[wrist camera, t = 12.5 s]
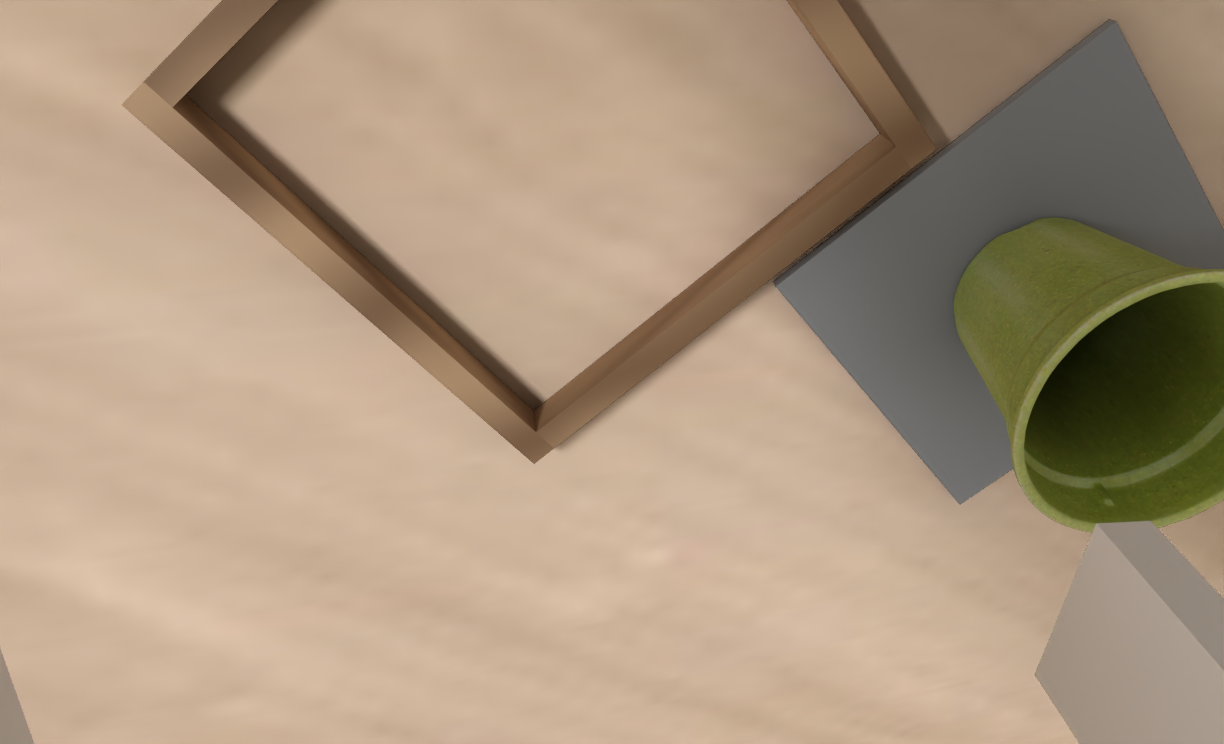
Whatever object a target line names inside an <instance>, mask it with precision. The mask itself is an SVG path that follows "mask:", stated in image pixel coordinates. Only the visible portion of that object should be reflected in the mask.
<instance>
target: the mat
mask: <svg viewBox="0 0 1224 744" xmlns="http://www.w3.org/2000/svg"><path fill="white" fill-rule="evenodd" d="M1054 217H1056V218H1065V219H1070V220H1074V221H1077V222H1080V223H1082V224H1084V225H1087V226H1089V227H1091V228H1094V229H1096V230H1099V231H1101V232H1103V233H1105V234H1108V235H1110V236H1112V237H1115V238H1117V239H1119V240H1122V241H1124V242H1126V243H1129V244H1131V245H1134V246H1136V247H1139V248H1141V249H1143V250H1146V251H1148V252H1151V253H1153V254H1155V255H1158V256H1160V257H1162V258H1165V259H1167V260H1169V261H1172V262H1174V263H1176V264H1179V265H1181V266H1184V267H1194V268H1201V269H1224V230H1223V228H1222V226H1221V224H1220V222H1219V220H1218V218H1217V216H1216V214H1215V212H1214V210H1213V208H1212V207H1211V205H1210V203H1209V201H1208V199H1207V197H1206V195H1205V193H1204V191H1203V189H1202V187H1201V185H1200V183H1199V181H1198V179H1197V177H1196V175H1195V174H1194V172H1193V170H1192V168H1191V166H1190V164H1189V162H1188V160H1187V158H1186V156H1185V154H1184V152H1183V150H1182V148H1181V146H1180V144H1179V142H1178V141H1177V139H1176V137H1175V135H1174V133H1173V131H1172V129H1171V127H1170V125H1169V123H1168V121H1167V119H1166V117H1165V115H1164V113H1163V111H1162V109H1161V108H1160V106H1159V104H1158V102H1157V100H1156V98H1155V96H1154V94H1153V92H1152V90H1151V88H1150V86H1149V84H1148V82H1147V80H1146V78H1145V76H1144V75H1143V73H1142V71H1141V69H1140V67H1139V65H1138V63H1137V61H1136V59H1135V57H1134V55H1133V53H1132V51H1131V49H1130V47H1129V45H1128V43H1127V42H1126V40H1125V38H1124V36H1123V34H1122V32H1121V30H1120V28H1119V26H1118V24H1117V22H1116V21H1113V20H1110V19H1109V20H1108V21H1107V22H1105V23H1104V24H1103V25H1101V26H1100V27H1099V28H1098V29H1096V30H1095V31H1094V32H1092V33H1091V34H1090V35H1089V36H1087V37H1086V38H1085V39H1084V40H1082V41H1081V42H1080V43H1078V44H1077V45H1076V46H1075V47H1073V48H1072V49H1071V50H1069V51H1068V52H1067V53H1066V54H1064V55H1063V56H1062V57H1060V58H1059V59H1058V60H1057V61H1055V62H1054V63H1053V64H1052V65H1050V66H1049V67H1048V68H1046V69H1045V70H1044V71H1043V72H1041V73H1040V74H1039V75H1037V76H1036V77H1035V78H1034V79H1032V80H1031V81H1030V82H1028V83H1027V84H1026V85H1025V86H1023V87H1022V88H1021V89H1019V90H1018V91H1017V92H1016V93H1014V94H1013V95H1012V96H1011V97H1009V98H1008V99H1007V100H1005V101H1004V102H1003V103H1002V104H1000V105H999V106H998V107H996V108H995V109H994V110H993V111H991V112H990V113H989V114H987V115H986V116H985V117H984V118H982V119H981V120H980V121H979V122H977V123H976V124H975V125H973V126H972V127H971V128H970V129H968V130H967V131H966V132H964V133H963V134H962V135H961V136H959V137H958V138H957V139H955V140H954V141H953V142H952V143H950V144H949V145H948V146H947V147H945V148H944V149H943V150H941V151H940V152H939V153H938V154H936V155H935V156H934V157H932V158H931V159H930V160H929V161H927V162H926V163H925V164H923V165H922V166H921V167H920V168H918V169H917V170H916V171H915V172H913V173H912V174H911V175H909V176H908V177H907V178H906V179H904V180H903V181H902V182H900V183H899V184H898V185H897V186H895V187H894V188H893V189H891V190H890V191H889V192H888V193H886V194H885V195H884V196H883V197H881V198H880V199H879V200H877V201H876V202H875V203H874V204H872V205H871V206H870V207H868V208H867V209H866V210H865V211H863V212H862V213H861V214H859V215H858V216H857V217H856V218H854V219H853V220H852V221H850V222H849V223H848V224H847V225H845V226H844V227H843V228H842V229H840V230H839V231H838V232H836V233H835V234H834V235H833V236H831V237H830V238H829V239H827V240H826V241H825V242H824V243H822V244H821V245H820V246H818V247H817V248H816V249H815V250H813V251H812V252H811V253H810V254H808V255H807V256H806V257H804V258H803V259H802V260H801V261H799V262H798V263H797V264H795V265H794V266H793V267H792V268H790V269H789V270H788V271H786V272H785V273H784V274H783V275H781V276H780V277H779V278H778V279H776V280H775V281H774V282H773V283H774V284H775V286H776V287H777V288H778V290H779V291H780V292H781V293H782V294H783V296H784V297H785V298H786V299H787V300H788V302H789V303H790V304H791V305H792V306H793V307H794V309H795V310H796V311H797V312H798V313H799V315H800V316H801V317H802V318H803V319H804V320H805V322H806V323H807V324H808V325H809V326H810V328H811V329H812V330H813V331H814V332H815V334H816V335H817V336H818V337H819V338H820V339H821V341H822V342H823V343H824V344H825V345H826V347H827V348H828V349H829V350H830V351H831V353H832V354H833V355H834V356H835V357H836V358H837V360H838V361H839V362H840V363H841V364H842V366H843V367H844V368H845V369H846V370H847V372H848V373H849V374H850V375H851V376H852V377H853V379H854V380H855V381H856V382H857V383H858V385H859V386H860V387H861V388H862V389H863V390H864V392H865V393H866V394H867V395H868V396H869V398H870V399H871V400H872V401H873V402H874V404H875V405H876V406H877V407H878V408H879V409H880V411H881V412H882V413H883V414H884V415H885V417H886V418H887V419H888V420H889V421H890V423H891V424H892V425H893V426H894V427H895V428H896V430H897V431H898V432H899V433H900V434H901V436H902V437H903V438H904V439H905V440H906V442H907V443H908V444H909V445H910V446H911V447H912V449H913V450H914V451H915V452H916V453H917V455H918V456H919V457H920V458H921V459H922V460H923V462H924V463H925V464H926V465H927V466H928V468H929V469H930V470H931V471H932V472H933V474H934V475H935V476H936V477H937V478H938V479H939V481H940V482H941V483H942V484H943V485H944V487H945V488H946V489H947V490H948V491H949V493H950V494H951V495H952V496H953V497H954V498H955V500H956V501H957V502H958V503H959V504H962V503H963V502H965V501H966V500H968V499H969V498H971V497H972V496H974V495H975V494H976V493H978V492H979V491H981V490H982V489H984V488H985V487H987V486H988V485H990V484H991V483H993V482H994V481H996V480H997V479H999V478H1000V477H1002V476H1003V475H1005V474H1006V473H1008V472H1009V471H1010V470H1012V469H1013V464H1012V459H1011V442H1010V439H1009V436H1008V432H1007V426H1006V420H1005V418H1004V416H1003V414H1002V413H1001V411H1000V409H999V407H998V405H997V404H996V402H995V400H994V398H993V396H992V395H991V393H990V391H989V389H988V387H987V386H986V384H985V382H984V380H983V378H982V377H981V375H980V373H979V371H978V370H977V368H976V366H975V364H974V363H973V361H972V359H971V358H970V356H969V354H968V352H967V350H966V348H965V347H964V345H963V343H962V341H961V340H960V337H959V335H958V331H957V327H956V323H955V316H954V298H955V293H956V290H957V287H958V285H959V282H960V280H961V277H962V276H963V274H964V272H965V270H966V268H967V266H968V265H969V264H970V262H971V261H972V260H973V259H974V257H975V256H976V255H977V254H978V253H979V252H980V251H981V250H982V249H983V248H984V247H985V246H986V245H987V244H988V243H989V242H991V241H992V240H993V239H995V238H996V237H998V236H999V235H1002V234H1005V233H1008V232H1011V231H1013V230H1016V229H1019V228H1021V227H1023V226H1025V225H1028V224H1030V223H1032V222H1034V221H1035V220H1037V219H1042V218H1054Z"/></svg>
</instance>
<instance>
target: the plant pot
mask: <svg viewBox="0 0 1224 744" xmlns="http://www.w3.org/2000/svg"><path fill="white" fill-rule="evenodd" d="M954 316H955V323H956V327H957V331H958V335H959V337H960V340H961V341H962V343H963V345H964V347H965V348H966V350H967V352H968V354H969V356H970V358H971V359H972V361H973V363H974V364H975V366H976V368H977V370H978V371H979V373H980V375H981V377H982V378H983V380H984V382H985V384H986V386H987V387H988V389H989V391H990V393H991V395H992V396H993V398H994V400H995V402H996V404H997V405H998V407H999V409H1000V411H1001V413H1002V414H1003V416H1004V418H1005V420H1006V426H1007V432H1008V436H1009V439H1010V442H1011V459H1012V464H1013V468H1014V472H1015V475H1016V477H1017V480H1018V482H1019V484H1020V486H1021V488H1022V490H1023V491H1024V493H1025V495H1026V496H1027V498H1028V499H1029V500H1030V501H1031V502H1032V504H1033V505H1034V506H1035V507H1036V508H1037V509H1038V510H1040V511H1041V512H1042V513H1043V514H1044V515H1046V516H1047V517H1049V518H1050V519H1052V520H1054V521H1056V522H1058V523H1060V524H1062V525H1065V526H1068V527H1071V528H1074V529H1077V530H1081V531H1086V532H1091V533H1093V530H1094V528H1095V525H1096V523H1117V522H1138V521H1151V522H1152V523H1153V524H1154V525H1155V526H1156V527H1157V528H1160V527H1164V526H1167V525H1169V524H1172V523H1176V522H1179V521H1182V520H1185V519H1188V518H1191V517H1192V516H1194V515H1196V514H1199V513H1201V512H1203V511H1205V510H1207V509H1209V508H1210V507H1212V506H1214V505H1216V504H1218V503H1219V502H1221V501H1222V500H1224V269H1201V268H1194V267H1184V266H1181V265H1179V264H1176V263H1174V262H1172V261H1169V260H1167V259H1165V258H1162V257H1160V256H1158V255H1155V254H1153V253H1151V252H1148V251H1146V250H1143V249H1141V248H1139V247H1136V246H1134V245H1131V244H1129V243H1126V242H1124V241H1122V240H1119V239H1117V238H1115V237H1112V236H1110V235H1108V234H1105V233H1103V232H1101V231H1099V230H1096V229H1094V228H1091V227H1089V226H1087V225H1084V224H1082V223H1080V222H1077V221H1074V220H1070V219H1065V218H1056V217H1054V218H1042V219H1037V220H1035V221H1034V222H1032V223H1030V224H1028V225H1025V226H1023V227H1021V228H1019V229H1016V230H1013V231H1011V232H1008V233H1005V234H1002V235H999V236H998V237H996V238H995V239H993V240H992V241H991V242H989V243H988V244H987V245H986V246H985V247H984V248H983V249H982V250H981V251H980V252H979V253H978V254H977V255H976V256H975V257H974V259H973V260H972V261H971V262H970V264H969V265H968V266H967V268H966V270H965V272H964V274H963V276H962V277H961V280H960V282H959V285H958V287H957V290H956V293H955V298H954Z"/></svg>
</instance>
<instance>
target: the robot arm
mask: <svg viewBox="0 0 1224 744" xmlns="http://www.w3.org/2000/svg"><path fill="white" fill-rule="evenodd" d="M1035 676H1036V678H1037V679H1038V681H1039V682H1040V684H1041V685H1042V687H1043V688H1044V690H1045V691H1046V693H1047V694H1048V696H1049V698H1050V699H1051V701H1052V702H1053V704H1054V705H1055V707H1056V708H1057V710H1058V711H1059V713H1060V714H1061V716H1062V717H1063V719H1064V721H1065V722H1066V724H1067V725H1068V727H1069V728H1070V730H1071V731H1072V733H1073V734H1074V736H1075V737H1076V739H1077V740H1078V742H1079V744H1224V598H1223V597H1222V596H1221V595H1220V594H1219V593H1218V592H1217V591H1216V590H1215V589H1214V588H1213V587H1212V586H1211V585H1210V584H1209V583H1208V581H1207V580H1206V579H1205V578H1204V577H1203V576H1202V575H1201V574H1200V573H1199V572H1198V571H1197V570H1196V569H1195V568H1194V567H1193V566H1192V564H1191V563H1190V562H1189V561H1188V560H1187V559H1186V558H1185V557H1184V556H1183V555H1182V554H1181V553H1180V552H1179V551H1178V550H1177V549H1176V547H1175V546H1174V545H1173V544H1172V543H1171V542H1170V541H1169V540H1168V539H1167V538H1166V537H1165V536H1164V535H1163V534H1162V533H1161V531H1160V530H1159V529H1158V528H1157V527H1156V526H1155V525H1154V524H1153V523H1152V522H1151V521H1138V522H1117V523H1096V525H1095V528H1094V530H1093V533H1092V535H1091V538H1090V540H1089V543H1088V545H1087V547H1086V550H1085V552H1084V555H1083V557H1082V560H1081V562H1080V565H1079V567H1078V570H1077V572H1076V574H1075V577H1074V579H1073V582H1072V584H1071V587H1070V589H1069V592H1068V594H1067V596H1066V599H1065V601H1064V604H1063V606H1062V609H1061V611H1060V614H1059V616H1058V619H1057V621H1056V623H1055V626H1054V628H1053V631H1052V633H1051V636H1050V638H1049V641H1048V643H1047V645H1046V648H1045V650H1044V653H1043V655H1042V658H1041V660H1040V663H1039V665H1038V667H1037V670H1036V672H1035ZM0 744H34V742H33V739H32V736H31V733H30V730H29V728H28V725H27V722H26V719H25V716H24V714H23V711H22V708H21V705H20V702H19V700H18V697H17V694H16V691H15V688H14V686H13V683H12V680H11V677H10V674H9V672H8V669H7V666H6V663H5V660H4V658H3V655H2V652H1V649H0Z"/></svg>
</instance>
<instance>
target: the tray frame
mask: <svg viewBox="0 0 1224 744" xmlns="http://www.w3.org/2000/svg"><path fill="white" fill-rule="evenodd" d="M277 1H278V0H222V1H221V2H220V3H219V4H218V5H217V6H216V7H215V8H214V9H213V10H212V11H211V12H210V13H209V15H208V16H207V17H206V18H205V19H204V20H203V21H202V22H201V23H200V24H199V25H198V26H197V27H196V28H195V29H194V30H193V31H192V32H191V33H190V34H189V35H188V36H187V37H186V38H185V39H184V40H183V41H182V43H181V44H180V45H179V46H178V47H177V48H176V49H175V50H174V51H173V52H172V53H171V54H170V55H169V56H168V57H167V58H166V59H165V60H164V61H163V62H162V63H161V64H160V65H159V66H158V67H157V68H156V69H155V71H154V72H153V73H152V74H151V75H150V76H149V77H148V78H147V79H146V80H145V81H144V82H143V83H142V84H141V85H140V86H139V87H138V88H137V89H136V90H135V91H134V92H133V93H132V94H131V95H130V96H129V97H128V99H127V100H126V101H125V102H124V103H123V104H122V106H123V107H125V108H126V109H127V110H128V111H129V112H130V113H131V114H133V115H134V116H135V117H136V118H137V119H138V120H139V121H141V122H142V123H143V124H144V125H145V126H146V127H148V128H149V129H150V130H151V131H152V132H153V133H154V134H156V135H157V136H158V137H159V138H160V139H161V140H162V141H164V142H165V143H166V144H167V145H168V146H169V147H171V148H172V149H173V150H174V151H175V152H176V153H177V154H179V155H180V156H181V157H182V158H183V159H184V160H185V161H187V162H188V163H189V164H190V165H191V166H192V167H193V168H195V169H196V170H197V171H198V172H199V173H200V174H202V175H203V176H204V177H205V178H206V179H207V180H208V181H210V182H211V183H212V184H213V185H214V186H215V187H216V188H218V189H219V190H220V191H221V192H222V193H223V194H225V195H226V196H227V197H228V198H229V199H230V200H231V201H233V202H234V203H235V204H236V205H237V206H238V207H239V208H241V209H242V210H243V211H244V212H245V213H246V214H248V215H249V216H250V217H251V218H252V219H253V220H254V221H256V222H257V223H258V224H259V225H260V226H261V227H262V228H264V229H265V230H266V231H267V232H268V233H269V234H270V235H272V236H273V237H274V238H275V239H276V240H277V241H279V242H280V243H281V244H282V245H283V246H284V247H285V248H287V249H288V250H289V251H290V252H291V253H292V254H293V255H295V256H296V257H297V258H298V259H299V260H300V261H302V262H303V263H304V264H305V265H306V266H307V267H308V268H310V269H311V270H312V271H313V272H314V273H315V274H316V275H318V276H319V277H320V278H321V279H322V280H323V281H324V282H326V283H327V284H328V285H329V286H330V287H331V288H333V289H334V290H335V291H336V292H337V293H338V294H339V295H341V296H342V297H343V298H344V299H345V300H346V301H347V302H349V303H350V304H351V305H352V306H353V307H354V308H356V309H357V310H358V311H359V312H360V313H361V314H362V315H364V316H365V317H366V318H367V319H368V320H369V321H370V322H372V323H373V324H374V325H375V326H376V327H377V328H378V329H380V330H381V331H382V332H383V333H384V334H385V335H387V336H388V337H389V338H390V339H391V340H392V341H393V342H395V343H396V344H397V345H398V346H399V347H400V348H401V349H403V350H404V351H405V352H406V353H407V354H408V355H410V356H411V357H412V358H413V359H414V360H415V361H416V362H418V363H419V364H420V365H421V366H422V367H423V368H424V369H426V370H427V371H428V372H429V373H430V374H431V375H432V376H434V377H435V378H436V379H437V380H438V381H439V382H441V383H442V384H443V385H444V386H445V387H446V388H447V389H449V390H450V391H451V392H452V393H453V394H454V395H455V396H457V397H458V398H459V399H460V400H461V401H462V402H464V403H465V404H466V405H467V406H468V407H469V408H470V409H472V410H473V411H474V412H475V413H476V414H477V415H478V416H480V417H481V418H482V419H483V420H484V421H485V422H487V423H488V424H489V425H490V426H491V427H492V428H493V429H495V430H496V431H497V432H498V433H499V434H500V435H501V436H503V437H504V438H505V439H506V440H507V441H508V442H509V443H511V444H512V445H513V446H514V447H515V448H516V449H518V450H519V451H520V452H521V453H522V454H523V455H524V456H526V457H527V458H528V459H529V460H530V461H531V462H532V463H534V464H535V463H536V462H537V461H538V460H540V459H541V458H542V457H544V456H545V455H546V454H547V453H549V452H550V451H551V450H553V449H554V448H555V447H556V446H558V445H559V444H560V443H561V442H563V441H564V440H565V439H567V438H568V437H569V436H570V435H572V434H573V433H574V432H576V431H577V430H578V429H579V428H581V427H582V426H583V425H584V424H586V423H587V422H588V421H590V420H591V419H592V418H593V417H595V416H596V415H597V414H599V413H600V412H601V411H602V410H604V409H605V408H606V407H607V406H609V405H610V404H611V403H613V402H614V401H615V400H616V399H618V398H619V397H620V396H622V395H623V394H624V393H625V392H627V391H628V390H629V389H630V388H632V387H633V386H634V385H636V384H637V383H638V382H639V381H641V380H642V379H643V378H645V377H646V376H647V375H648V374H650V373H651V372H652V371H653V370H655V369H656V368H657V367H659V366H660V365H661V364H662V363H664V362H665V361H666V360H668V359H669V358H670V357H671V356H673V355H674V354H675V353H676V352H678V351H679V350H680V349H682V348H683V347H684V346H685V345H687V344H688V343H689V342H691V341H692V340H693V339H694V338H696V337H697V336H698V335H699V334H701V333H702V332H703V331H705V330H706V329H707V328H708V327H710V326H711V325H712V324H714V323H715V322H716V321H717V320H719V319H720V318H721V317H722V316H724V315H725V314H726V313H728V312H729V311H730V310H731V309H733V308H734V307H735V306H737V305H738V304H739V303H740V302H742V301H743V300H744V299H745V298H747V297H748V296H749V295H751V294H752V293H753V292H754V291H756V290H757V289H758V288H760V287H761V286H762V285H763V284H765V283H766V282H767V281H768V280H770V279H771V278H772V277H774V276H775V275H776V274H777V273H779V272H780V271H781V270H783V269H784V268H785V267H786V266H788V265H789V264H790V263H791V262H793V261H794V260H795V259H797V258H798V257H799V256H800V255H802V254H803V253H804V252H806V251H807V250H808V249H809V248H811V247H812V246H813V245H814V244H816V243H817V242H818V241H820V240H821V239H822V238H823V237H825V236H826V235H827V234H829V233H830V232H831V231H832V230H834V229H835V228H836V227H837V226H839V225H840V224H841V223H843V222H844V221H845V220H846V219H848V218H849V217H850V216H852V215H853V214H854V213H855V212H857V211H858V210H859V209H860V208H862V207H863V206H864V205H866V204H867V203H868V202H869V201H871V200H872V199H873V198H875V197H876V196H877V195H878V194H880V193H881V192H882V191H883V190H885V189H886V188H887V187H889V186H890V185H891V184H892V183H894V182H895V181H896V180H898V179H899V178H900V177H901V176H903V175H904V174H905V173H906V172H908V171H909V170H910V169H912V168H913V167H914V166H915V165H917V164H918V163H919V162H921V161H922V160H923V159H924V158H926V157H927V156H928V155H929V154H931V153H932V152H933V151H935V150H936V147H935V146H934V144H933V143H932V141H931V140H930V138H929V137H928V135H927V134H926V132H925V131H924V129H923V128H922V126H921V125H920V123H919V122H918V120H917V119H916V117H915V116H914V114H913V113H912V111H911V110H910V108H909V107H908V105H907V104H906V102H905V101H904V99H903V98H902V96H901V95H900V93H899V92H898V90H897V89H896V87H895V86H894V84H893V83H892V81H891V80H890V78H889V77H888V75H887V74H886V72H885V71H884V69H883V68H882V66H881V65H880V63H879V62H878V60H877V59H876V57H875V56H874V54H873V53H872V52H871V50H870V49H869V47H868V46H867V44H866V43H865V41H864V40H863V38H862V37H861V35H860V34H859V32H858V31H857V29H856V28H855V26H854V25H853V23H852V22H851V20H850V19H849V17H848V16H847V14H846V13H845V11H844V10H843V8H842V7H841V5H840V4H839V2H838V1H837V0H787V1H788V2H789V4H790V5H791V7H792V8H793V10H794V11H795V13H796V14H797V15H798V17H799V18H800V20H801V21H802V23H803V24H804V25H805V27H806V28H807V30H808V31H809V33H810V34H811V35H812V37H813V38H814V40H815V41H816V43H817V44H818V45H819V47H820V48H821V50H822V51H823V53H824V54H825V55H826V57H827V58H828V60H829V61H830V63H831V64H832V66H833V67H834V68H835V70H836V71H837V73H838V74H839V76H840V77H841V78H842V80H843V81H844V83H845V84H846V86H847V87H848V88H849V90H850V91H851V93H852V94H853V96H854V97H855V98H856V100H857V101H858V103H859V104H860V106H861V107H862V108H863V110H864V111H865V113H866V114H867V116H868V117H869V119H870V120H871V121H872V123H873V124H874V126H875V127H876V129H877V130H878V131H879V133H880V134H879V135H878V136H877V137H876V138H874V139H873V140H872V141H871V142H869V143H868V144H867V145H866V146H864V147H863V148H862V149H861V150H859V151H858V152H857V153H856V154H854V155H853V156H852V157H851V158H849V159H848V160H847V161H846V162H844V163H843V164H842V165H841V166H839V167H838V168H837V169H836V170H834V171H833V172H832V173H831V174H829V175H828V176H827V177H826V178H824V179H823V180H822V181H821V182H819V183H818V184H817V185H816V186H814V187H813V188H812V189H811V190H809V191H808V192H807V193H806V194H804V195H803V196H802V197H801V198H799V199H798V200H797V201H795V202H794V203H793V204H792V205H790V206H789V207H788V208H787V209H785V210H784V211H783V212H782V213H780V214H779V215H778V216H777V217H775V218H774V219H773V220H772V221H770V222H769V223H768V224H767V225H765V226H764V227H763V228H762V229H760V230H759V231H758V232H757V233H755V234H754V235H753V236H752V237H750V238H749V239H748V240H747V241H745V242H744V243H743V244H742V245H740V246H739V247H738V248H737V249H735V250H734V251H733V252H732V253H730V254H729V255H728V256H727V257H725V258H724V259H723V260H722V261H720V262H719V263H718V264H717V265H715V266H714V267H713V268H712V269H710V270H709V271H708V272H707V273H705V274H704V275H703V276H702V277H700V278H699V279H698V280H697V281H695V282H694V283H693V284H692V285H690V286H689V287H688V288H687V289H685V290H684V291H683V292H682V293H680V294H679V295H678V296H677V297H675V298H674V299H673V300H672V301H670V302H669V303H668V304H667V305H665V306H664V307H663V308H662V309H660V310H659V311H658V312H657V313H655V314H654V315H653V316H652V317H650V318H649V319H648V320H647V321H645V322H644V323H643V324H642V325H640V326H639V327H638V328H637V329H635V330H634V331H633V332H632V333H630V334H629V335H628V336H627V337H625V338H624V339H623V340H622V341H620V342H619V343H618V344H617V345H615V346H614V347H613V348H612V349H610V350H609V351H608V352H607V353H605V354H604V355H603V356H602V357H600V358H599V359H598V360H597V361H595V362H594V363H593V364H592V365H590V366H589V367H588V368H587V369H585V370H584V371H583V372H582V373H580V374H579V375H578V376H577V377H575V378H574V379H573V380H572V381H570V382H569V383H568V384H567V385H565V386H564V387H563V388H562V389H560V390H559V391H558V392H557V393H555V394H554V395H553V396H552V397H550V398H549V399H548V400H547V401H545V402H544V403H543V404H542V405H540V406H539V407H538V408H537V409H535V410H534V411H533V410H532V409H531V408H530V407H529V406H528V405H527V404H526V403H525V402H524V401H522V400H521V399H520V398H519V397H518V396H517V395H516V394H515V393H514V392H512V391H511V390H510V389H509V388H508V387H507V386H506V385H505V384H504V383H503V382H501V381H500V380H499V379H498V378H497V377H496V376H495V375H494V374H493V373H492V372H490V371H489V370H488V369H487V368H486V367H485V366H484V365H483V364H482V363H480V362H479V361H478V360H477V359H476V358H475V357H474V356H473V355H472V354H471V353H469V352H468V351H467V350H466V349H465V348H464V347H463V346H462V345H461V344H460V343H458V342H457V341H456V340H455V339H454V338H453V337H452V336H451V335H450V334H448V333H447V332H446V331H445V330H444V329H443V328H442V327H441V326H440V325H439V324H437V323H436V322H435V321H434V320H433V319H432V318H431V317H430V316H429V315H428V314H426V313H425V312H424V311H423V310H422V309H421V308H420V307H419V306H418V305H416V304H415V303H414V302H413V301H412V300H411V299H410V298H409V297H408V296H407V295H405V294H404V293H403V292H402V291H401V290H400V289H399V288H398V287H397V286H396V285H394V284H393V283H392V282H391V281H390V280H389V279H388V278H387V277H386V276H384V275H383V274H382V273H381V272H380V271H379V270H378V269H377V268H376V267H375V266H373V265H372V264H371V263H370V262H369V261H368V260H367V259H366V258H365V257H364V256H362V255H361V254H360V253H359V252H358V251H357V250H356V249H355V248H354V247H352V246H351V245H350V244H349V243H348V242H347V241H346V240H345V239H344V238H343V237H341V236H340V235H339V234H338V233H337V232H336V231H335V230H334V229H333V228H332V227H330V226H329V225H328V224H327V223H326V222H325V221H324V220H323V219H322V218H320V217H319V216H318V215H317V214H316V213H315V212H314V211H313V210H312V209H311V208H309V207H308V206H307V205H306V204H305V203H304V202H303V201H302V200H301V199H300V198H298V197H297V196H296V195H295V194H294V193H293V192H292V191H291V190H290V189H288V188H287V187H286V186H285V185H284V184H283V183H282V182H281V181H280V180H279V179H277V178H276V177H275V176H274V175H273V174H272V173H271V172H270V171H269V170H268V169H266V168H265V167H264V166H263V165H262V164H261V163H260V162H259V161H258V160H256V159H255V158H254V157H253V156H252V155H251V154H250V153H249V152H248V151H247V150H245V149H244V148H243V147H242V146H241V145H240V144H239V143H238V142H237V141H236V140H234V139H233V138H232V137H231V136H230V135H229V134H228V133H227V132H226V131H224V130H223V129H222V128H221V127H220V126H219V125H218V124H217V123H216V122H215V121H213V120H212V119H211V118H210V117H209V116H208V115H207V114H206V113H205V112H204V111H202V110H201V109H200V108H199V107H198V106H197V105H196V104H195V103H194V102H192V101H191V100H190V99H189V98H188V97H187V96H186V95H185V94H186V93H187V92H188V91H189V90H190V89H191V88H192V87H193V86H194V85H195V84H196V83H197V82H198V81H199V80H200V79H201V78H202V77H203V76H204V75H205V74H206V73H207V72H208V71H209V70H210V69H211V68H212V67H213V66H214V65H215V64H216V63H217V62H218V61H219V60H220V59H221V58H222V57H223V56H224V55H225V54H226V53H227V52H228V51H229V50H230V49H231V48H232V47H233V46H234V45H235V44H236V43H237V42H238V41H239V40H240V39H241V38H242V37H243V35H244V34H245V33H246V32H247V31H248V30H249V29H250V28H251V27H252V26H253V25H254V24H255V23H256V22H257V21H258V20H259V19H260V18H261V17H262V16H263V15H264V14H265V13H266V12H267V11H268V10H269V9H270V8H271V7H272V6H273V5H274V4H275V3H276V2H277Z"/></svg>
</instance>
